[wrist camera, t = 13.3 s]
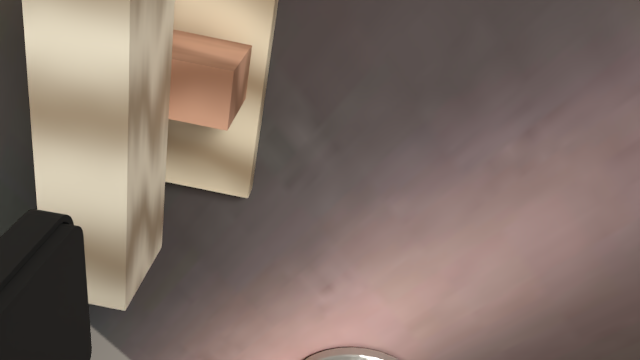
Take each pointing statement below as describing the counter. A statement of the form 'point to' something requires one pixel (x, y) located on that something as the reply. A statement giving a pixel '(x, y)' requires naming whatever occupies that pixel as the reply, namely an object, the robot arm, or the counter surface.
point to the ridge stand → (218, 92)
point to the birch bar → (102, 129)
